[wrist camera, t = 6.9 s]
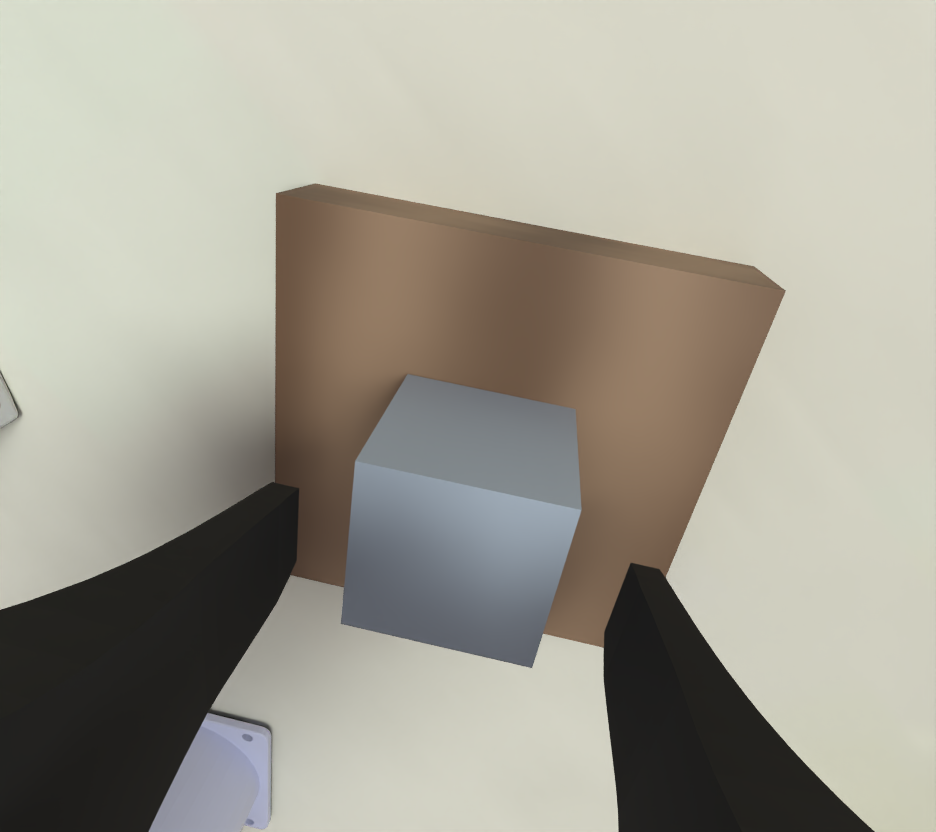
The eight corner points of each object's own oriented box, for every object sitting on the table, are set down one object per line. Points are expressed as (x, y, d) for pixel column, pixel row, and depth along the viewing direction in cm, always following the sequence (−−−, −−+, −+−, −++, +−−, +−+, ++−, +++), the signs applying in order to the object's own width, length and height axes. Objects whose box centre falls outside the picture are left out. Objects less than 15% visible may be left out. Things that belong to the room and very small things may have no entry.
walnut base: (309, 517, 22) (275, 571, 19) (322, 182, 17) (276, 193, 14) (624, 588, 21) (632, 654, 19) (749, 262, 16) (785, 290, 13)
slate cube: (390, 510, 18) (340, 623, 14) (407, 373, 15) (355, 460, 11) (537, 542, 17) (531, 667, 13) (575, 409, 15) (581, 510, 11)
